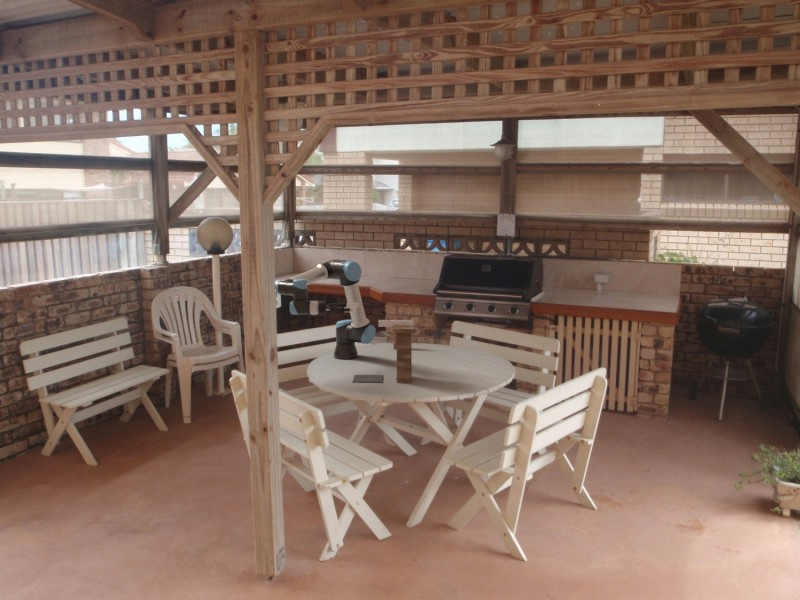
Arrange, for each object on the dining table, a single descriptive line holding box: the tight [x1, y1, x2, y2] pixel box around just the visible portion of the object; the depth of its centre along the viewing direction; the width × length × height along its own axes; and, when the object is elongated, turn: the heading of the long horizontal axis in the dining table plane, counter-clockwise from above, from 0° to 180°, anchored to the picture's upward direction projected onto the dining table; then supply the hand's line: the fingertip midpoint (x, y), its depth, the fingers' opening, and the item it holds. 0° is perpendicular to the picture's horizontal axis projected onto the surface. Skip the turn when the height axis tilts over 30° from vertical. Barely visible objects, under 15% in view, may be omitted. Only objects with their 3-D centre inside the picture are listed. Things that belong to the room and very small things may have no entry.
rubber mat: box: [352, 374, 384, 384], centre depth 381 cm, size 14×16×1 cm
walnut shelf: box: [392, 322, 416, 383], centre depth 379 cm, size 16×12×30 cm
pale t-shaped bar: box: [377, 319, 414, 328], centre depth 376 cm, size 6×19×3 cm, turn 89°
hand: (357, 307), depth 377 cm, fingers open, 13 cm apart
